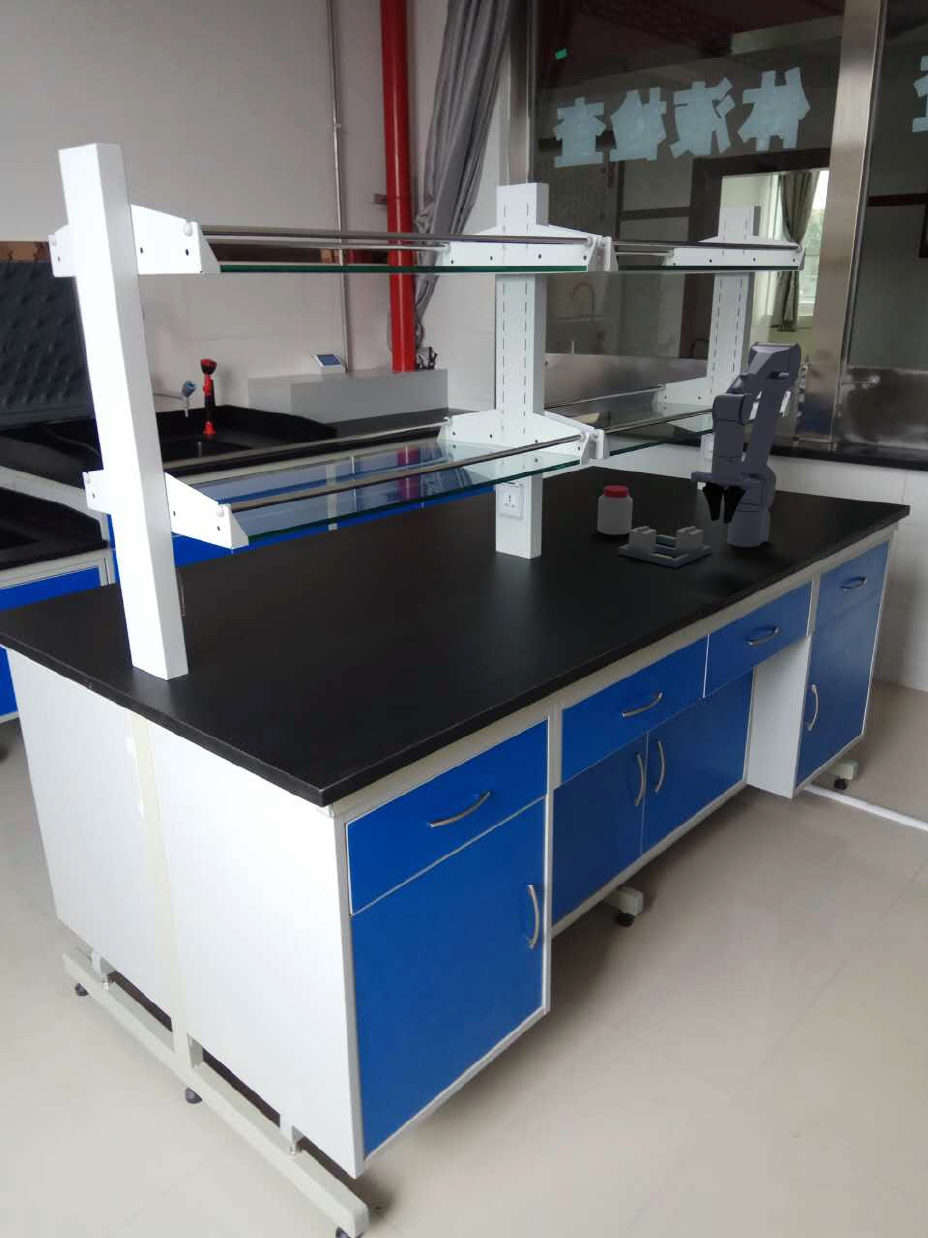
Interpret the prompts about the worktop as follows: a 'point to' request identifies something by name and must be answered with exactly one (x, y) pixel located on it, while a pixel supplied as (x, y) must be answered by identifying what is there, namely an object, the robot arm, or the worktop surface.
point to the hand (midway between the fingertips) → (721, 521)
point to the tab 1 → (642, 539)
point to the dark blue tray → (666, 552)
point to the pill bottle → (615, 511)
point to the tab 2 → (689, 539)
